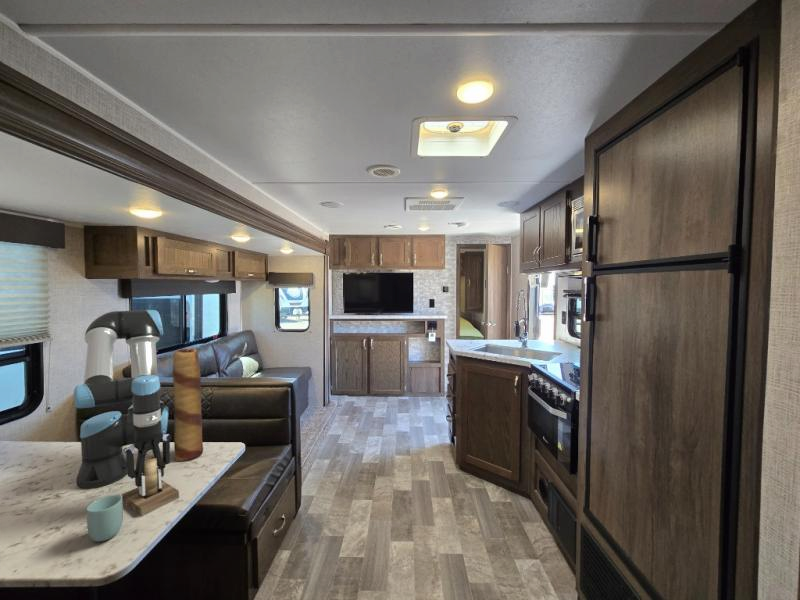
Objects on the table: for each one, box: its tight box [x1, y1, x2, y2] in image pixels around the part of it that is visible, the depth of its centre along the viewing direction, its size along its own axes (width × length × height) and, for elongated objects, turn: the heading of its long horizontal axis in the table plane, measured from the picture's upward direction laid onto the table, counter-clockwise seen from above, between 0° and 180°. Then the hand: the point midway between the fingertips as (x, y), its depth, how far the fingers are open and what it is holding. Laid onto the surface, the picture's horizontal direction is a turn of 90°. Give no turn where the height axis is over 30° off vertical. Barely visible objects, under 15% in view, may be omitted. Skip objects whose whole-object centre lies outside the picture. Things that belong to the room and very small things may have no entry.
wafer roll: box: [172, 348, 204, 462], centre depth 145 cm, size 10×11×45 cm
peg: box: [142, 456, 158, 499], centre depth 117 cm, size 4×4×12 cm
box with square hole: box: [121, 479, 180, 517], centre depth 117 cm, size 14×11×2 cm
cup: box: [85, 494, 124, 543], centre depth 100 cm, size 8×8×10 cm
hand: (150, 490), depth 117 cm, fingers open, 4 cm apart
